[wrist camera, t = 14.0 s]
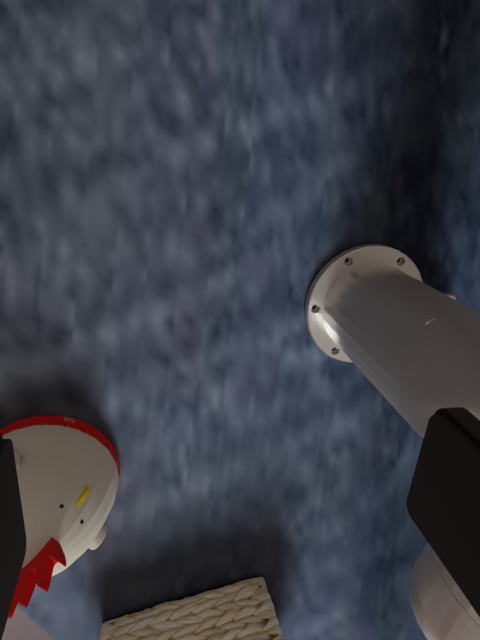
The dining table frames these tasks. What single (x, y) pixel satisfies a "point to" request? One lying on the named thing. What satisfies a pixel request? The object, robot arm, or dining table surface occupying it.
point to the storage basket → (204, 617)
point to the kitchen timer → (60, 494)
